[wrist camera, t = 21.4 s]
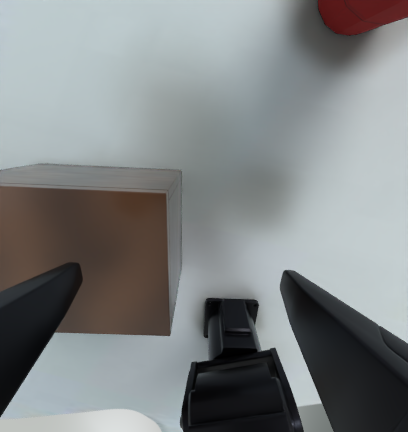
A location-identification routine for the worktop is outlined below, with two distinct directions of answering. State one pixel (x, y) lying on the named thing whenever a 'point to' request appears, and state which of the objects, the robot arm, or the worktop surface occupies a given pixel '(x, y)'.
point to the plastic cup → (360, 14)
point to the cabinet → (97, 241)
